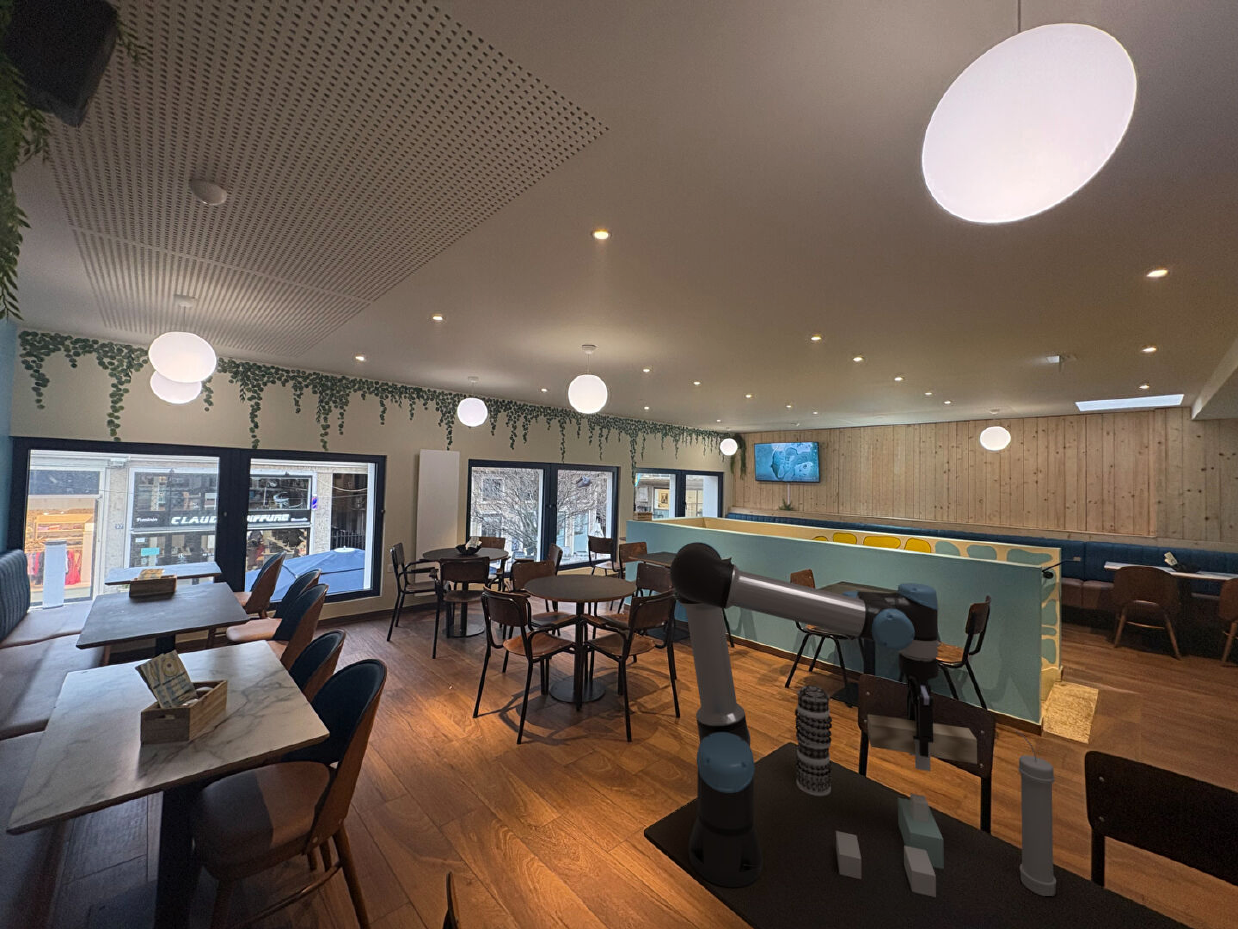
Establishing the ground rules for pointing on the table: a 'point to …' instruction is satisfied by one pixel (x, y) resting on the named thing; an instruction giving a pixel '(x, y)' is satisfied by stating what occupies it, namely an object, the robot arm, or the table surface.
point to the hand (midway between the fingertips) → (919, 762)
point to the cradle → (914, 863)
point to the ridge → (920, 828)
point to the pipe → (1037, 824)
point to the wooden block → (901, 731)
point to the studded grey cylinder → (813, 741)
